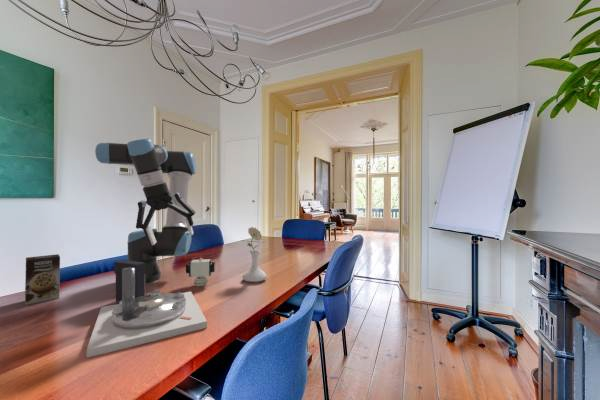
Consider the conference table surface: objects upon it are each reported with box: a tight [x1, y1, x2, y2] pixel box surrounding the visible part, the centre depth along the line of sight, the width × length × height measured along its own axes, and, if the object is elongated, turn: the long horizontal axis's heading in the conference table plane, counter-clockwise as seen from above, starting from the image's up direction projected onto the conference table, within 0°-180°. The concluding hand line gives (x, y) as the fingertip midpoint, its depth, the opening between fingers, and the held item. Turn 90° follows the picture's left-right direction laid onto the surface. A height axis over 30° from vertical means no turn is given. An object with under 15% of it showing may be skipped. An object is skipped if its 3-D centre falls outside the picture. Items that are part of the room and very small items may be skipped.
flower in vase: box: [242, 226, 268, 283], centre depth 122 cm, size 13×11×25 cm
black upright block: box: [113, 259, 146, 303], centre depth 94 cm, size 11×4×15 cm, turn 71°
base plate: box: [86, 291, 208, 358], centre depth 81 cm, size 28×28×2 cm
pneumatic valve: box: [185, 257, 216, 287], centre depth 114 cm, size 6×12×12 cm, turn 101°
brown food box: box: [24, 253, 61, 306], centre depth 96 cm, size 9×6×16 cm
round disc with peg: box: [112, 267, 186, 329], centre depth 81 cm, size 20×20×16 cm
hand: (173, 238), depth 96 cm, fingers open, 13 cm apart
